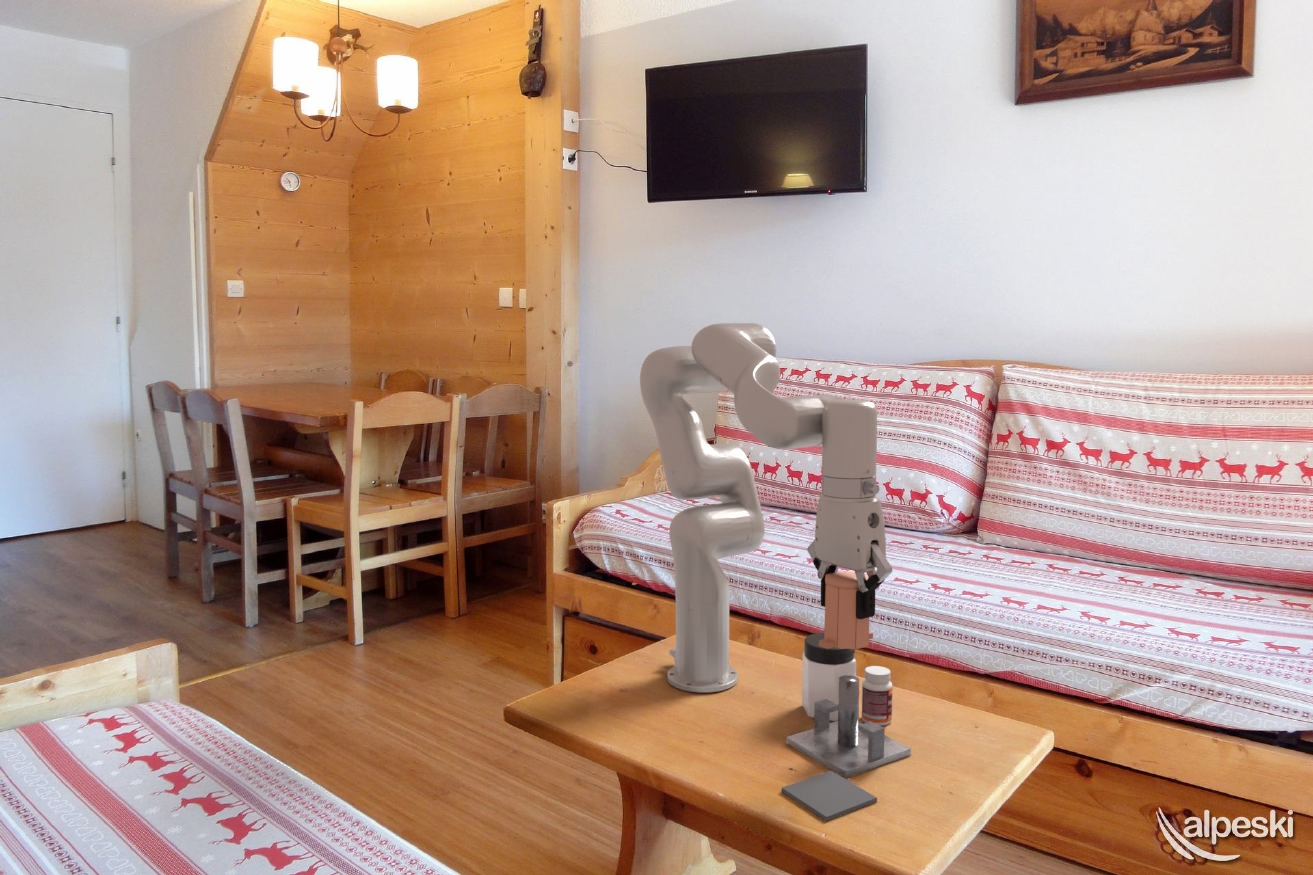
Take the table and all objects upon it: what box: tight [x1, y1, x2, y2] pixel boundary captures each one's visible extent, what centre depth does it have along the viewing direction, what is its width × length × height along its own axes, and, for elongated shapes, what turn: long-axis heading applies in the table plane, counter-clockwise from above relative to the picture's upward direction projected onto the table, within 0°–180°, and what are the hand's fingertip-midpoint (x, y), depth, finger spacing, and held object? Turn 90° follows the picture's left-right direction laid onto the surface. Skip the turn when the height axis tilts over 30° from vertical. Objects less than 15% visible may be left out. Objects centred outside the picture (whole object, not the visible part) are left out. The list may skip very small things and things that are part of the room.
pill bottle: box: [861, 665, 894, 727], centre depth 151 cm, size 5×5×8 cm
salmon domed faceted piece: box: [819, 571, 874, 650], centre depth 134 cm, size 9×6×10 cm
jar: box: [801, 632, 857, 722], centre depth 154 cm, size 9×8×12 cm
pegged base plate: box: [786, 675, 912, 779], centre depth 141 cm, size 13×13×11 cm
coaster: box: [781, 770, 878, 822], centre depth 127 cm, size 9×9×1 cm
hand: (847, 609), depth 134 cm, fingers closed on salmon domed faceted piece, 6 cm apart
